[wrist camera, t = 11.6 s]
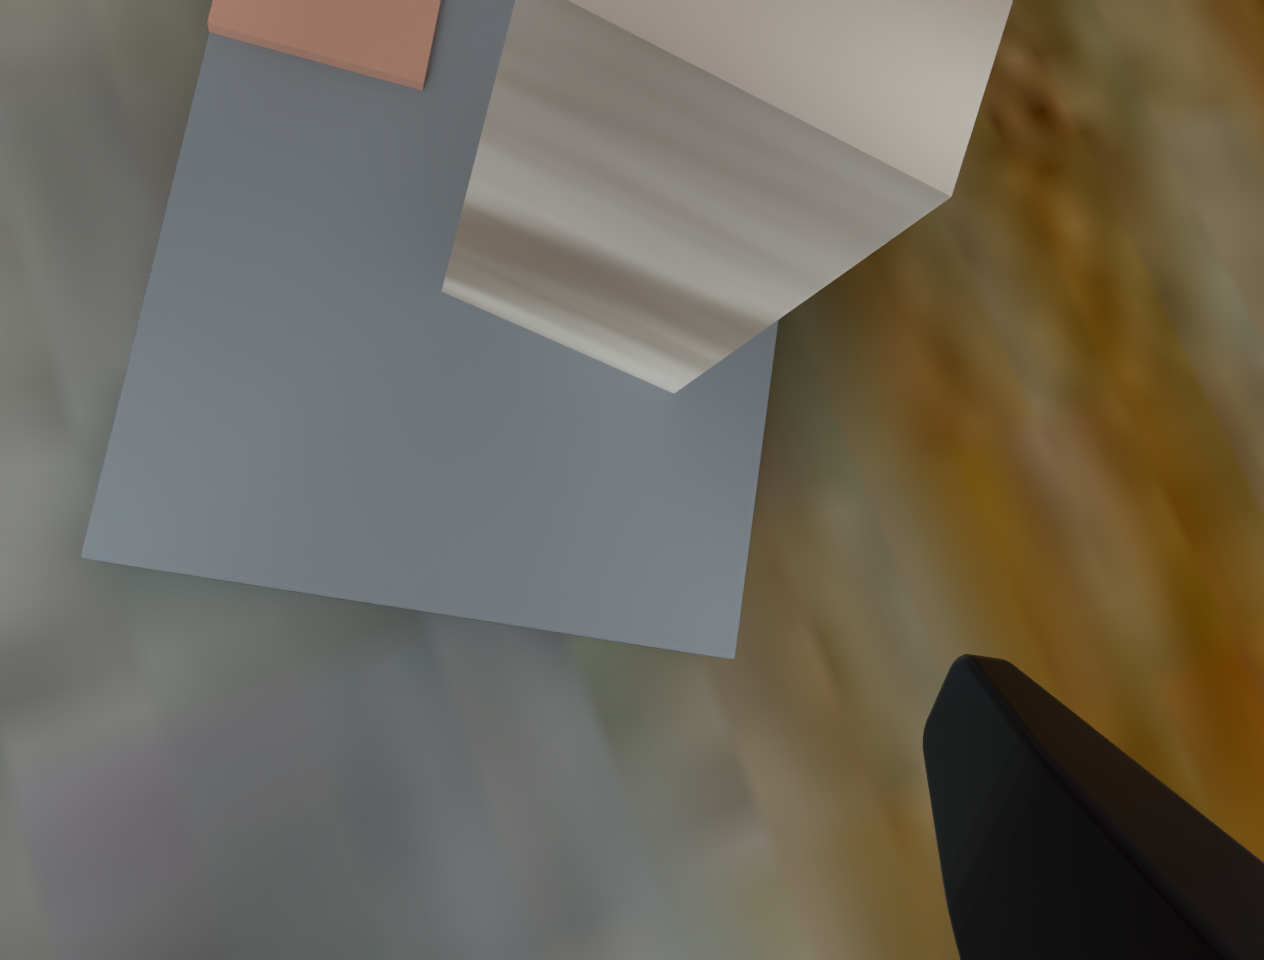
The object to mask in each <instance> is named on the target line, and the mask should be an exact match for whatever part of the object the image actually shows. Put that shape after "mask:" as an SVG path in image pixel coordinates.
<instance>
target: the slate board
mask: <svg viewBox="0 0 1264 960" xmlns="http://www.w3.org/2000/svg"><path fill="white" fill-rule="evenodd" d="M514 3H515V0H213V1H212V5H211V9H210V13H209V17H208V21H207V25H208V29H209V36H208V40H207V44H206V48H205V52H204V56H203V60H202V64H201V68H200V72H199V76H198V80H197V84H196V88H195V93H194V97H193V101H192V105H191V109H190V113H189V117H188V121H187V125H186V129H185V133H184V137H183V141H182V146H181V150H180V154H179V158H178V162H177V166H176V170H175V174H174V178H173V182H172V186H171V190H170V194H169V198H168V203H167V207H166V211H165V215H164V219H163V223H162V227H161V231H160V235H159V239H158V243H157V247H156V251H155V256H154V260H153V264H152V268H151V272H150V276H149V280H148V284H147V288H146V292H145V296H144V300H143V304H142V308H141V313H140V317H139V321H138V325H137V329H136V333H135V337H134V341H133V345H132V349H131V353H130V357H129V361H128V366H127V370H126V374H125V378H124V382H123V386H122V390H121V394H120V398H119V402H118V406H117V410H116V414H115V418H114V423H113V427H112V431H111V435H110V439H109V443H108V447H107V451H106V455H105V459H104V463H103V467H102V471H101V476H100V480H99V484H98V488H97V492H96V496H95V500H94V504H93V508H92V512H91V516H90V520H89V524H88V528H87V533H86V537H85V541H84V545H83V549H82V553H81V558H86V559H90V560H95V561H101V562H108V563H114V564H121V565H127V566H133V567H140V568H146V569H153V570H159V571H166V572H172V573H178V574H185V575H191V576H198V577H204V578H210V579H217V580H223V581H230V582H236V583H243V584H249V585H255V586H262V587H268V588H275V589H281V590H288V591H294V592H300V593H307V594H313V595H320V596H326V597H333V598H339V599H345V600H352V601H358V602H365V603H371V604H378V605H384V606H390V607H397V608H403V609H410V610H416V611H423V612H429V613H435V614H442V615H448V616H455V617H461V618H468V619H474V620H480V621H487V622H493V623H500V624H506V625H513V626H519V627H525V628H532V629H538V630H545V631H551V632H558V633H564V634H570V635H577V636H583V637H590V638H596V639H603V640H609V641H615V642H622V643H628V644H635V645H641V646H648V647H654V648H660V649H667V650H673V651H680V652H686V653H693V654H699V655H705V656H712V657H719V658H728V659H735V651H736V643H737V636H738V628H739V620H740V613H741V605H742V597H743V589H744V582H745V574H746V566H747V559H748V551H749V543H750V536H751V528H752V520H753V512H754V505H755V497H756V489H757V482H758V474H759V466H760V459H761V451H762V443H763V436H764V428H765V420H766V412H767V405H768V397H769V389H770V382H771V374H772V366H773V359H774V351H775V343H776V335H777V328H778V320H777V321H776V322H774V323H773V324H772V325H770V326H769V327H767V328H766V329H765V330H763V331H762V332H760V333H759V334H758V335H756V336H755V337H753V338H752V339H750V340H749V341H748V342H746V343H745V344H743V345H742V346H741V347H739V348H738V349H736V350H735V351H734V352H732V353H731V354H729V355H728V356H727V357H725V358H724V359H722V360H721V361H719V362H718V363H717V364H715V365H714V366H712V367H711V368H710V369H708V370H707V371H705V372H704V373H703V374H701V375H700V376H698V377H697V378H696V379H694V380H693V381H691V382H690V383H688V384H687V385H686V386H684V387H683V388H681V389H680V390H679V391H677V392H676V393H671V392H669V391H667V390H664V389H662V388H660V387H658V386H655V385H653V384H651V383H649V382H646V381H644V380H642V379H639V378H637V377H635V376H633V375H630V374H628V373H626V372H623V371H621V370H619V369H617V368H614V367H612V366H610V365H608V364H605V363H603V362H601V361H598V360H596V359H594V358H592V357H589V356H587V355H585V354H583V353H580V352H578V351H576V350H573V349H571V348H569V347H567V346H564V345H562V344H560V343H558V342H555V341H553V340H551V339H548V338H546V337H544V336H542V335H539V334H537V333H535V332H532V331H530V330H528V329H526V328H523V327H521V326H519V325H517V324H514V323H512V322H510V321H507V320H505V319H503V318H501V317H498V316H496V315H494V314H492V313H489V312H487V311H485V310H482V309H480V308H478V307H476V306H473V305H471V304H469V303H466V302H464V301H462V300H460V299H457V298H455V297H453V296H451V295H448V294H446V293H444V292H441V291H442V287H443V283H444V279H445V275H446V272H447V268H448V264H449V260H450V256H451V252H452V248H453V244H454V240H455V236H456V232H457V228H458V224H459V220H460V216H461V212H462V208H463V204H464V200H465V197H466V193H467V189H468V185H469V181H470V177H471V173H472V169H473V165H474V161H475V157H476V153H477V149H478V145H479V141H480V137H481V133H482V129H483V126H484V122H485V118H486V114H487V110H488V106H489V102H490V98H491V94H492V90H493V86H494V82H495V78H496V74H497V70H498V66H499V62H500V58H501V54H502V51H503V47H504V43H505V39H506V35H507V31H508V27H509V23H510V19H511V15H512V11H513V7H514Z"/></svg>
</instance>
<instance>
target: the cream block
mask: <svg viewBox="0 0 1264 960" xmlns="http://www.w3.org/2000/svg"><path fill="white" fill-rule="evenodd" d="M1012 2H1013V0H515V3H514V7H513V11H512V15H511V19H510V23H509V27H508V31H507V35H506V39H505V43H504V47H503V51H502V54H501V58H500V62H499V66H498V70H497V74H496V78H495V82H494V86H493V90H492V94H491V98H490V102H489V106H488V110H487V114H486V118H485V122H484V126H483V129H482V133H481V137H480V141H479V145H478V149H477V153H476V157H475V161H474V165H473V169H472V173H471V177H470V181H469V185H468V189H467V193H466V197H465V200H464V204H463V208H462V212H461V216H460V220H459V224H458V228H457V232H456V236H455V240H454V244H453V248H452V252H451V256H450V260H449V264H448V268H447V272H446V275H445V279H444V283H443V287H442V291H441V292H444V293H446V294H448V295H451V296H453V297H455V298H457V299H460V300H462V301H464V302H466V303H469V304H471V305H473V306H476V307H478V308H480V309H482V310H485V311H487V312H489V313H492V314H494V315H496V316H498V317H501V318H503V319H505V320H507V321H510V322H512V323H514V324H517V325H519V326H521V327H523V328H526V329H528V330H530V331H532V332H535V333H537V334H539V335H542V336H544V337H546V338H548V339H551V340H553V341H555V342H558V343H560V344H562V345H564V346H567V347H569V348H571V349H573V350H576V351H578V352H580V353H583V354H585V355H587V356H589V357H592V358H594V359H596V360H598V361H601V362H603V363H605V364H608V365H610V366H612V367H614V368H617V369H619V370H621V371H623V372H626V373H628V374H630V375H633V376H635V377H637V378H639V379H642V380H644V381H646V382H649V383H651V384H653V385H655V386H658V387H660V388H662V389H664V390H667V391H669V392H671V393H676V392H677V391H679V390H680V389H681V388H683V387H684V386H686V385H687V384H688V383H690V382H691V381H693V380H694V379H696V378H697V377H698V376H700V375H701V374H703V373H704V372H705V371H707V370H708V369H710V368H711V367H712V366H714V365H715V364H717V363H718V362H719V361H721V360H722V359H724V358H725V357H727V356H728V355H729V354H731V353H732V352H734V351H735V350H736V349H738V348H739V347H741V346H742V345H743V344H745V343H746V342H748V341H749V340H750V339H752V338H753V337H755V336H756V335H758V334H759V333H760V332H762V331H763V330H765V329H766V328H767V327H769V326H770V325H772V324H773V323H774V322H776V321H777V320H779V319H780V318H781V317H783V316H784V315H786V314H787V313H789V312H790V311H791V310H793V309H794V308H796V307H797V306H798V305H800V304H801V303H803V302H804V301H805V300H807V299H808V298H810V297H811V296H812V295H814V294H815V293H817V292H818V291H819V290H821V289H822V288H824V287H825V286H827V285H828V284H829V283H831V282H832V281H834V280H835V279H836V278H838V277H839V276H841V275H842V274H843V273H845V272H846V271H848V270H849V269H850V268H852V267H853V266H855V265H856V264H858V263H859V262H860V261H862V260H863V259H865V258H866V257H867V256H869V255H870V254H872V253H873V252H874V251H876V250H877V249H879V248H880V247H881V246H883V245H884V244H886V243H887V242H889V241H890V240H891V239H893V238H894V237H896V236H897V235H898V234H900V233H901V232H903V231H904V230H905V229H907V228H908V227H910V226H911V225H912V224H914V223H915V222H917V221H918V220H920V219H921V218H922V217H924V216H925V215H927V214H928V213H929V212H931V211H932V210H934V209H935V208H936V207H938V206H939V205H941V204H942V203H943V202H945V201H946V200H948V199H949V198H950V197H952V193H953V190H954V187H955V184H956V181H957V178H958V174H959V171H960V168H961V165H962V162H963V158H964V155H965V152H966V149H967V146H968V142H969V139H970V136H971V133H972V130H973V126H974V123H975V120H976V117H977V114H978V110H979V107H980V104H981V101H982V98H983V95H984V91H985V88H986V85H987V82H988V79H989V75H990V72H991V69H992V66H993V63H994V59H995V56H996V53H997V50H998V47H999V43H1000V40H1001V37H1002V34H1003V31H1004V27H1005V24H1006V21H1007V18H1008V15H1009V12H1010V8H1011V5H1012Z"/></svg>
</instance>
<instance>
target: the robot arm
mask: <svg viewBox="0 0 1264 960" xmlns="http://www.w3.org/2000/svg"><path fill="white" fill-rule="evenodd" d="M923 754H924V760H925V767H926V773H927V780H928V787H929V793H930V800H931V806H932V813H933V819H934V826H935V833H936V839H937V846H938V852H939V859H940V865H941V872H942V879H943V885H944V890H945V896H946V901H947V907H948V912H949V916H950V920H951V924H952V928H953V933H954V937H955V941H956V944H957V948H958V952H959V956H960V959H961V960H1264V862H1262V861H1261V860H1260V859H1258V858H1257V857H1256V856H1255V855H1253V854H1252V853H1251V852H1250V851H1248V850H1247V849H1246V848H1245V847H1243V846H1242V845H1241V844H1239V843H1238V842H1237V841H1236V840H1234V839H1233V838H1232V837H1231V836H1229V835H1228V834H1227V833H1226V832H1224V831H1223V830H1222V829H1220V828H1219V827H1218V826H1217V825H1215V824H1214V823H1213V822H1212V821H1210V820H1209V819H1208V818H1207V817H1205V816H1204V815H1203V814H1201V813H1200V812H1199V811H1198V810H1196V809H1195V808H1194V807H1193V806H1191V805H1190V804H1189V803H1188V802H1186V801H1185V800H1184V799H1182V798H1181V797H1180V796H1179V795H1177V794H1176V793H1175V792H1174V791H1172V790H1171V789H1170V788H1169V787H1167V786H1166V785H1165V784H1163V783H1162V782H1161V781H1160V780H1158V779H1157V778H1156V777H1155V776H1153V775H1152V774H1151V773H1150V772H1148V771H1147V770H1146V769H1144V768H1143V767H1142V766H1141V765H1139V764H1138V763H1137V762H1136V761H1134V760H1133V759H1132V758H1131V757H1129V756H1128V755H1127V754H1126V753H1124V752H1123V751H1122V750H1120V749H1119V748H1118V747H1117V746H1115V745H1114V744H1113V743H1112V742H1110V741H1109V740H1108V739H1107V738H1105V737H1104V736H1103V735H1101V734H1100V733H1099V732H1098V731H1096V730H1095V729H1094V728H1093V727H1091V726H1090V725H1089V724H1088V723H1086V722H1085V721H1084V720H1082V719H1081V718H1080V717H1079V716H1077V715H1076V714H1075V713H1074V712H1072V711H1071V710H1070V709H1069V708H1067V707H1066V706H1065V705H1063V704H1062V703H1061V702H1060V701H1058V700H1057V699H1056V698H1055V697H1053V696H1052V695H1051V694H1050V693H1048V692H1047V691H1046V690H1045V689H1043V688H1042V687H1041V686H1039V685H1038V684H1037V683H1036V682H1034V681H1033V680H1032V679H1031V678H1029V677H1028V676H1027V675H1026V674H1024V673H1023V672H1022V671H1020V670H1019V669H1018V668H1017V667H1015V666H1014V665H1013V664H1011V663H1010V662H1008V661H1006V660H1003V659H998V658H991V657H984V656H977V655H970V654H965V655H962V656H960V657H958V658H957V659H956V660H955V661H954V662H953V664H952V666H951V667H950V669H949V671H948V674H947V676H946V678H945V680H944V683H943V685H942V687H941V689H940V692H939V694H938V696H937V698H936V701H935V703H934V705H933V707H932V710H931V712H930V714H929V717H928V719H927V721H926V724H925V728H924V733H923Z"/></svg>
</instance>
